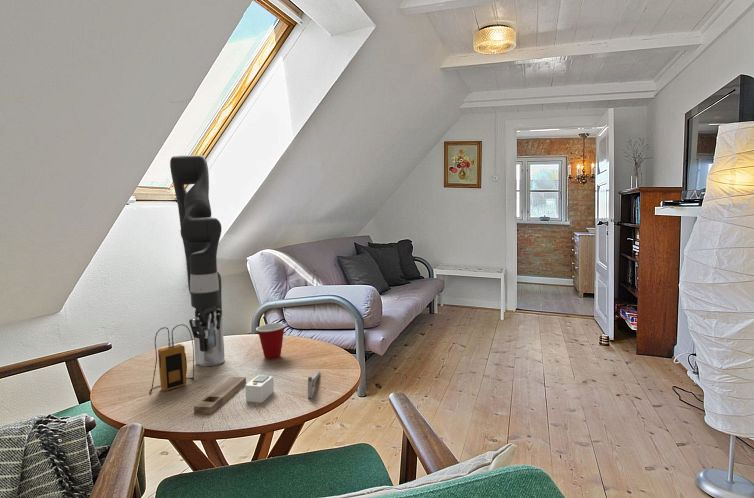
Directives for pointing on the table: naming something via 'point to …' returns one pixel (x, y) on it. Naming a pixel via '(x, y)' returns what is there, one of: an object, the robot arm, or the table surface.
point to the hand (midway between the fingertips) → (208, 348)
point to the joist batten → (219, 395)
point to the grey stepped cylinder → (210, 343)
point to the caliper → (312, 383)
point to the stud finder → (259, 388)
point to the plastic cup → (271, 339)
